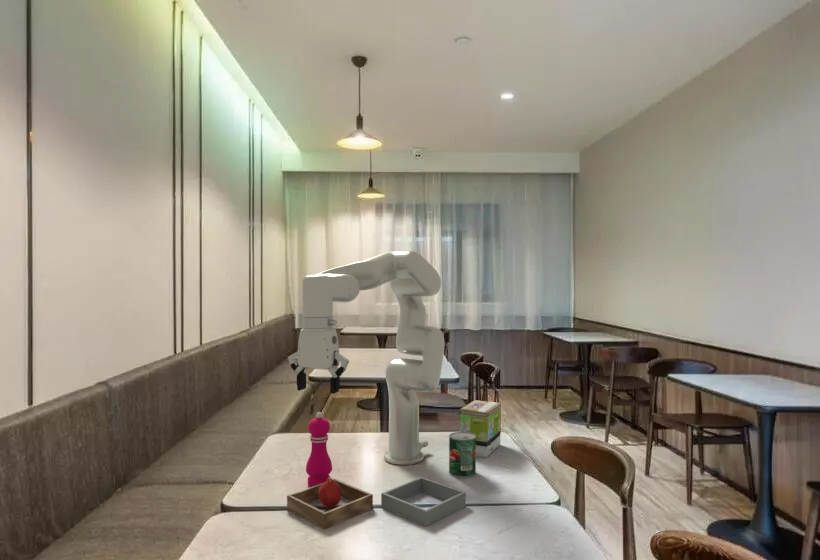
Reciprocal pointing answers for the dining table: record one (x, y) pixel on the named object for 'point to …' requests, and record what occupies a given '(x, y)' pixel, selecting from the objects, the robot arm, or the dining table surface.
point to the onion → (329, 494)
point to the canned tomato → (462, 454)
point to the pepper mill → (318, 451)
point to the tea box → (482, 425)
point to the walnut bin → (337, 515)
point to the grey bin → (425, 517)
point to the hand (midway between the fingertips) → (318, 390)
